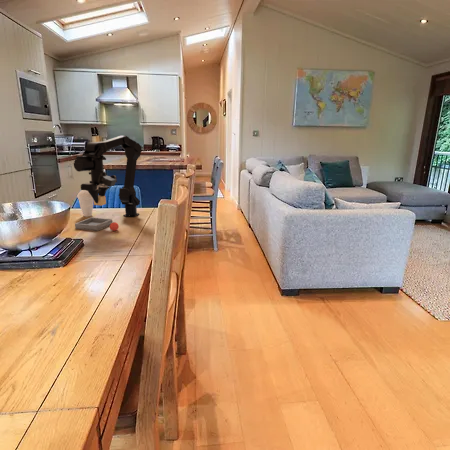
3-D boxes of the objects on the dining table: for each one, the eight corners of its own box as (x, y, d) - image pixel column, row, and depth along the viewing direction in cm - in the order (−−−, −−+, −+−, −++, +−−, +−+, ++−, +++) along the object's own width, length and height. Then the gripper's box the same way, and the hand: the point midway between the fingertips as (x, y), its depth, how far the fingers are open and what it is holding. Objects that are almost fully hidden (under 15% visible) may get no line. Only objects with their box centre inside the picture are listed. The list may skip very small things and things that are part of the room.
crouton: (98, 203, 153) (98, 195, 152) (106, 203, 153) (105, 195, 152) (93, 204, 150) (93, 196, 149) (101, 205, 149) (100, 197, 148)
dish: (91, 222, 158) (91, 217, 158) (112, 224, 156) (112, 219, 155) (75, 228, 147) (74, 223, 146) (97, 231, 144) (96, 225, 144)
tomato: (113, 229, 148) (112, 220, 147) (120, 229, 147) (120, 221, 146) (108, 231, 144) (107, 223, 143) (115, 232, 143) (115, 223, 142)
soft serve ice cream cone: (91, 217, 166) (88, 188, 161) (76, 217, 166) (72, 187, 161) (98, 213, 174) (95, 185, 169) (83, 213, 174) (80, 185, 169)
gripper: (100, 172, 136) (103, 207, 141) (122, 169, 154) (124, 200, 158) (78, 171, 139) (81, 205, 143) (102, 167, 156) (105, 198, 160)
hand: (99, 202), depth 151 cm, fingers closed on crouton, 4 cm apart
